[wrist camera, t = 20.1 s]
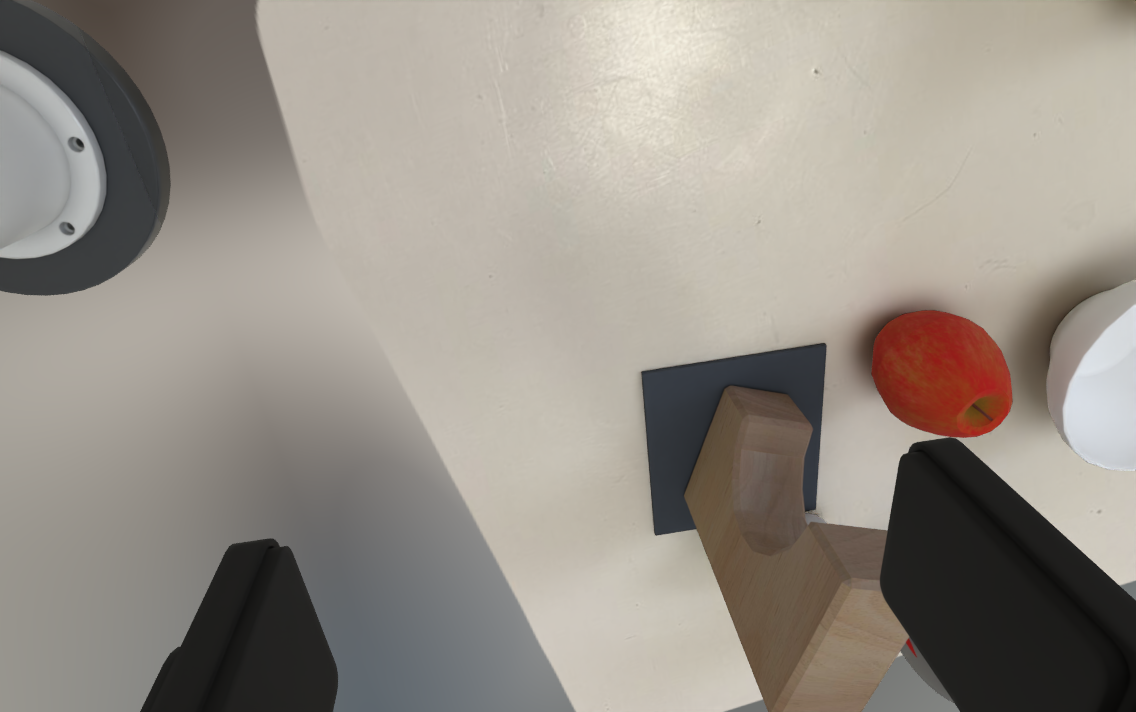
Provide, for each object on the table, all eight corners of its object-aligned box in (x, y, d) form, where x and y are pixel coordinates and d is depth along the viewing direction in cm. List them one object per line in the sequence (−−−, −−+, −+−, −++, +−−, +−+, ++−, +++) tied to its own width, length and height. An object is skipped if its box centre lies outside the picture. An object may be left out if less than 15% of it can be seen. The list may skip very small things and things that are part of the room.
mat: (654, 532, 58) (655, 535, 57) (641, 371, 50) (642, 374, 50) (813, 506, 58) (815, 509, 58) (824, 342, 50) (826, 345, 50)
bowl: (1240, 294, 52) (1341, 333, 46) (1081, 447, 58) (1152, 500, 52) (1114, 196, 47) (1208, 224, 41) (954, 373, 53) (1015, 421, 47)
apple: (826, 353, 51) (901, 432, 41) (910, 271, 48) (1011, 335, 39) (891, 406, 54) (975, 492, 44) (974, 332, 51) (1083, 405, 42)
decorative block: (725, 381, 51) (849, 580, 33) (792, 393, 52) (947, 593, 34) (678, 495, 55) (765, 724, 38) (741, 504, 56) (855, 730, 39)
